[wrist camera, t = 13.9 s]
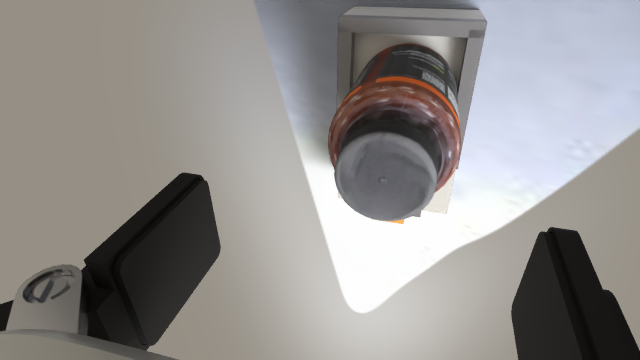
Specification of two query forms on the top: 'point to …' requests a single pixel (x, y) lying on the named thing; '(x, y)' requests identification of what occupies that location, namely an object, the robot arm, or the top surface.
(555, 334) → the robot arm
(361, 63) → the box
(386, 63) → the supplement bottle
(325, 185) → the top surface
